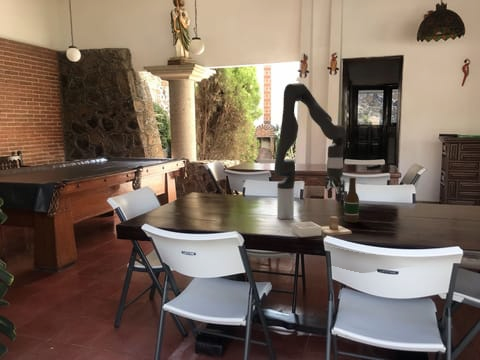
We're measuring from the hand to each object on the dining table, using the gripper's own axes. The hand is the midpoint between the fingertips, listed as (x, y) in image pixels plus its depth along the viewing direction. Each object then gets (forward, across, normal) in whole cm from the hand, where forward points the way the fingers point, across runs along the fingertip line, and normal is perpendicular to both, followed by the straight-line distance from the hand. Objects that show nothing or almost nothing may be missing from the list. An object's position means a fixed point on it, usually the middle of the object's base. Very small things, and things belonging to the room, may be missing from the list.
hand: (334, 199), depth 187 cm
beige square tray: (+16, 0, -15) cm, 22 cm away
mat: (+16, 0, 0) cm, 16 cm away
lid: (+15, 0, 0) cm, 16 cm away
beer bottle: (+16, -14, +19) cm, 29 cm away
